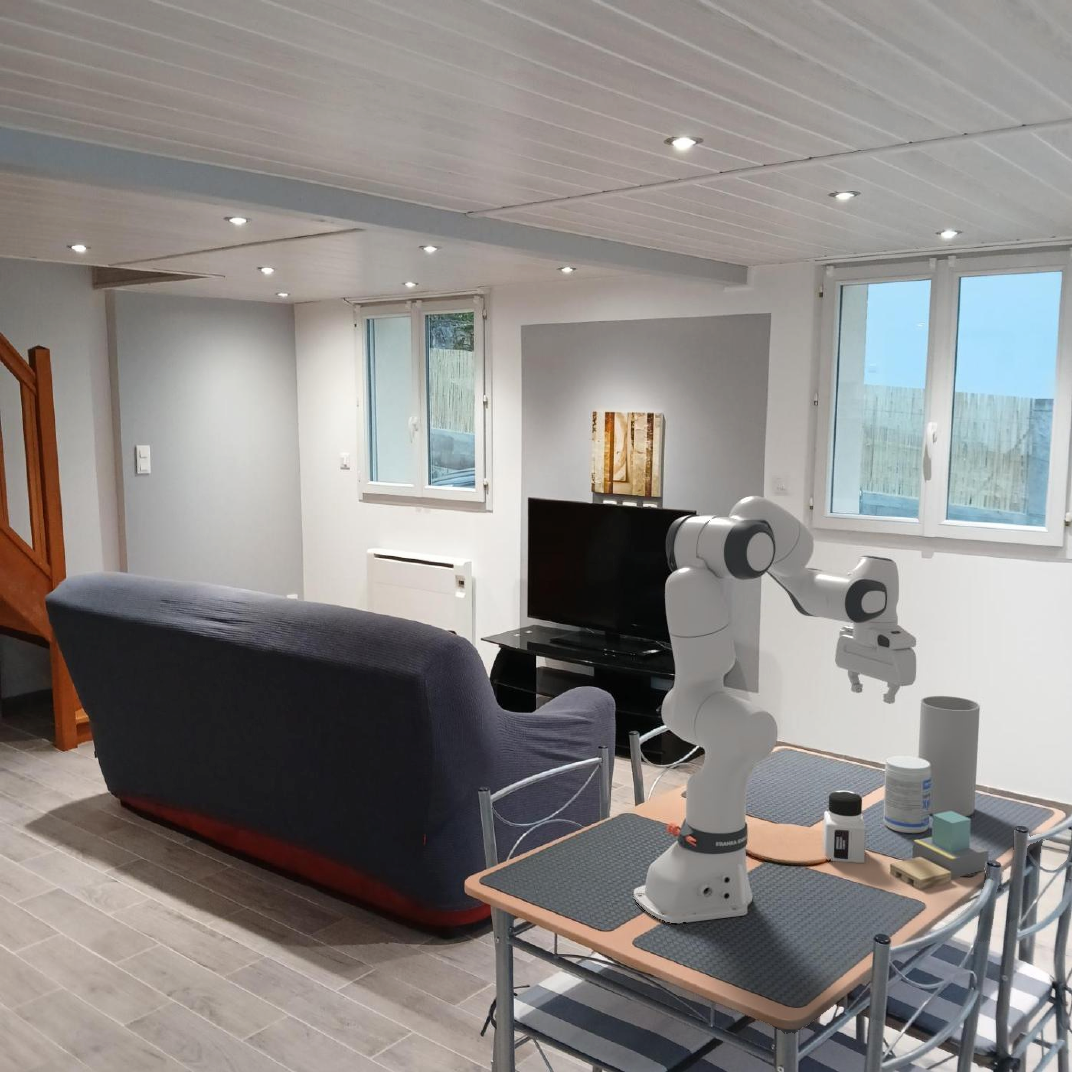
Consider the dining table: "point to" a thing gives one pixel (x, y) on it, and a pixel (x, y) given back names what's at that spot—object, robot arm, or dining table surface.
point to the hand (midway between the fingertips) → (872, 697)
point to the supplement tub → (907, 794)
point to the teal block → (951, 831)
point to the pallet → (920, 872)
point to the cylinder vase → (950, 752)
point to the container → (844, 828)
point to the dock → (952, 857)
